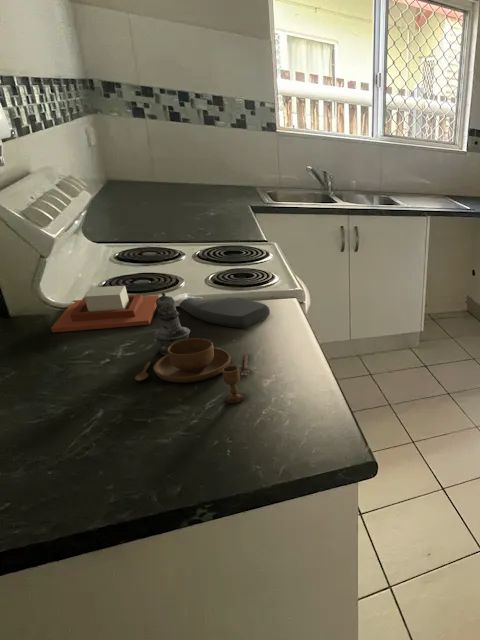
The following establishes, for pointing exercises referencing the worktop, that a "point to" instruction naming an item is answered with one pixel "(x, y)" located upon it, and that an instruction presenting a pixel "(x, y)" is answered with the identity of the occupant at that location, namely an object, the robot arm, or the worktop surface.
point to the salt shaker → (169, 324)
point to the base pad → (107, 315)
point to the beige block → (107, 298)
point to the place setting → (197, 365)
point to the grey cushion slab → (224, 310)
